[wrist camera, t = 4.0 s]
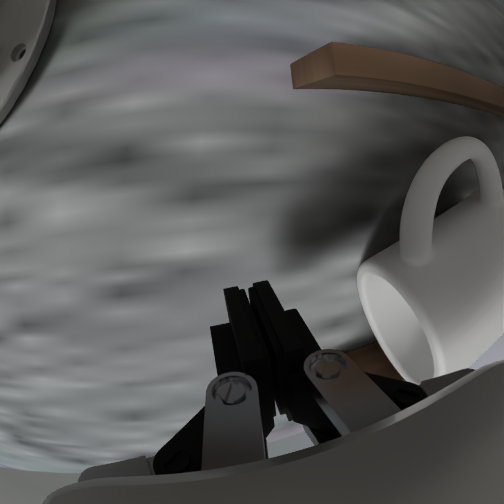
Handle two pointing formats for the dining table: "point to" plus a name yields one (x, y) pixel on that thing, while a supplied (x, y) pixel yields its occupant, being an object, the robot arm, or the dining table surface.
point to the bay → (397, 82)
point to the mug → (440, 271)
